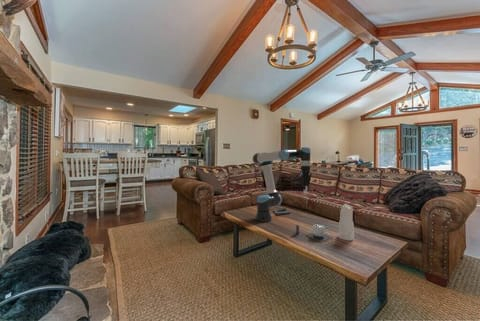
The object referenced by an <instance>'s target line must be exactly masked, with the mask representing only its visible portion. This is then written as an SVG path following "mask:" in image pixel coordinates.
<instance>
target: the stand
mask: <svg viewBox="0 0 480 321" xmlns="http://www.w3.org/2000/svg"><path fill="white" fill-rule="evenodd" d="M293 235H294V236H296V237H297V236H298V237H299V236H302V233H301V232H300V225H299V224H295V232H294V233H293Z"/></svg>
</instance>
